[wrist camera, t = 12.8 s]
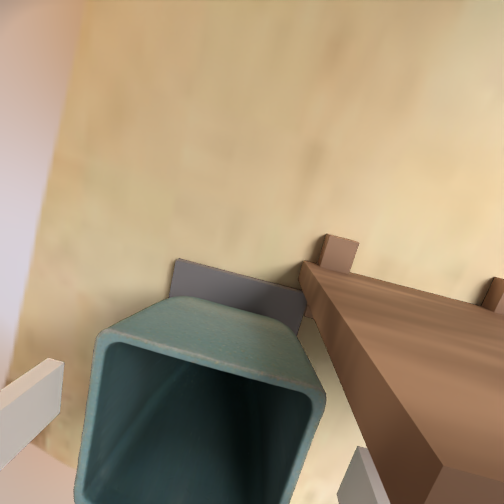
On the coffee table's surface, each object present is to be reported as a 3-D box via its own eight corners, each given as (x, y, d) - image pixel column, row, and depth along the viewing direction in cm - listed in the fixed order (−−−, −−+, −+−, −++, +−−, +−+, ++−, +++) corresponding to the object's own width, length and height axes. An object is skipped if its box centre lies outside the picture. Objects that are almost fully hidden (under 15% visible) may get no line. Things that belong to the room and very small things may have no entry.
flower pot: (182, 267, 17) (92, 327, 8) (299, 298, 17) (333, 393, 8) (161, 370, 19) (68, 510, 10) (268, 399, 19) (268, 568, 10)
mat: (178, 258, 18) (175, 259, 17) (308, 292, 18) (309, 295, 17) (156, 371, 20) (153, 376, 19) (273, 403, 19) (273, 409, 19)
